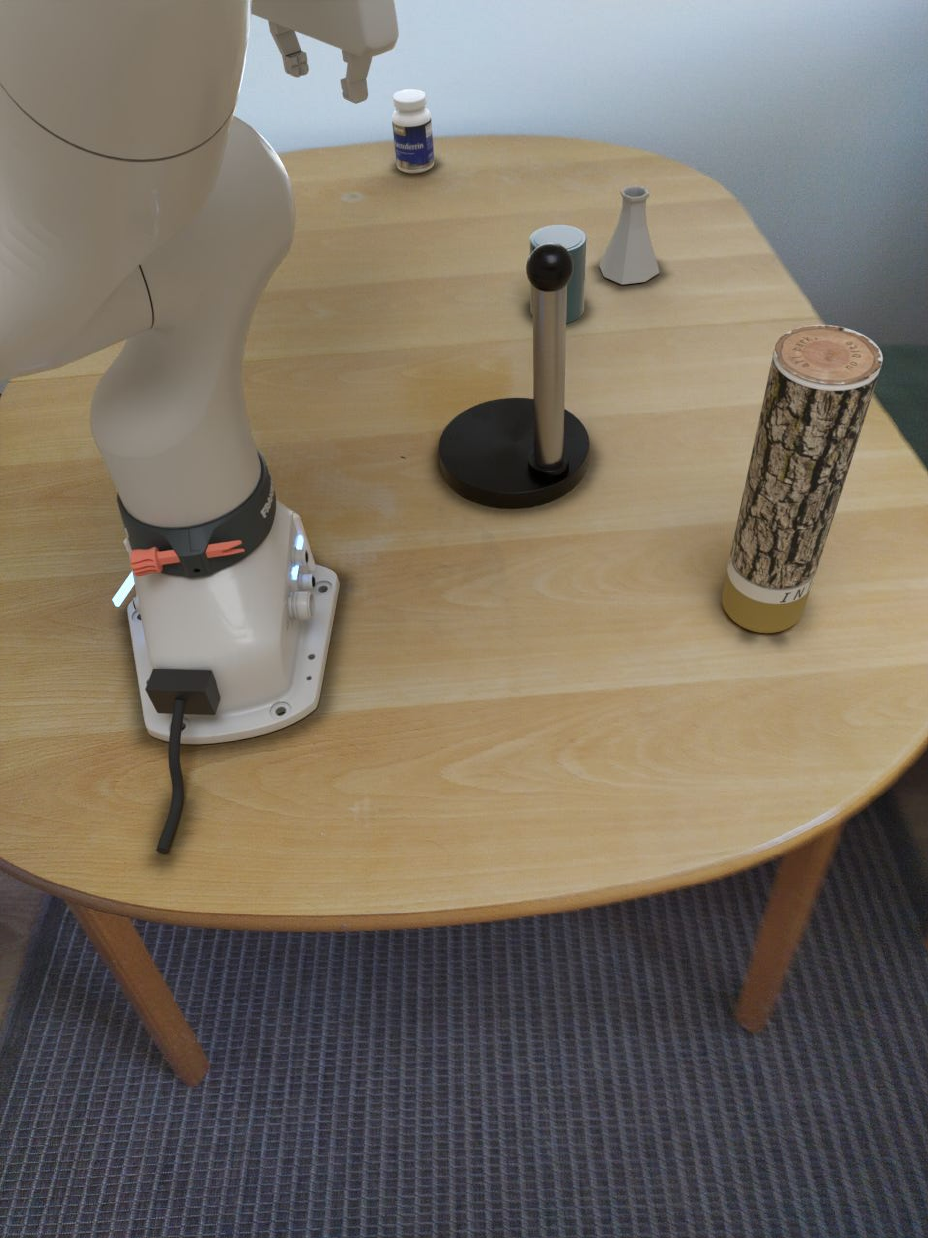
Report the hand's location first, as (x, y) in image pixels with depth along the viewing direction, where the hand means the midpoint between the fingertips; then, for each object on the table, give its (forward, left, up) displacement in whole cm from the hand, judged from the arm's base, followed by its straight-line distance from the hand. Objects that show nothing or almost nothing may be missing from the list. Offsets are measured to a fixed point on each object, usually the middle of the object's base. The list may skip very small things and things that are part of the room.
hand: (326, 86), depth 87 cm
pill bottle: (+49, -11, -29) cm, 58 cm away
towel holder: (-21, -13, -29) cm, 38 cm away
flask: (+12, -34, -29) cm, 46 cm away
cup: (+5, -23, -29) cm, 37 cm away
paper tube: (-45, -30, -29) cm, 61 cm away
